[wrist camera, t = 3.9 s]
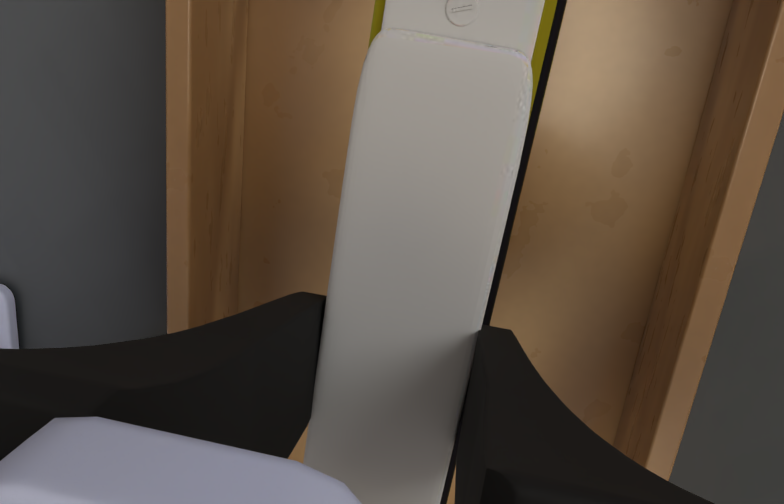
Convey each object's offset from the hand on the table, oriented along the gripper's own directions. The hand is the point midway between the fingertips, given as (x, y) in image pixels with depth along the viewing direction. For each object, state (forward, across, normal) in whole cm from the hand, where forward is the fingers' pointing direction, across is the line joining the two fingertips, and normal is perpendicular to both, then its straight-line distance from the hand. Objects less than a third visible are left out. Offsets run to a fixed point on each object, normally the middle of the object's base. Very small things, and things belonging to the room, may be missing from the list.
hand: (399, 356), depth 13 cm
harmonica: (+1, 0, 0) cm, 1 cm away
